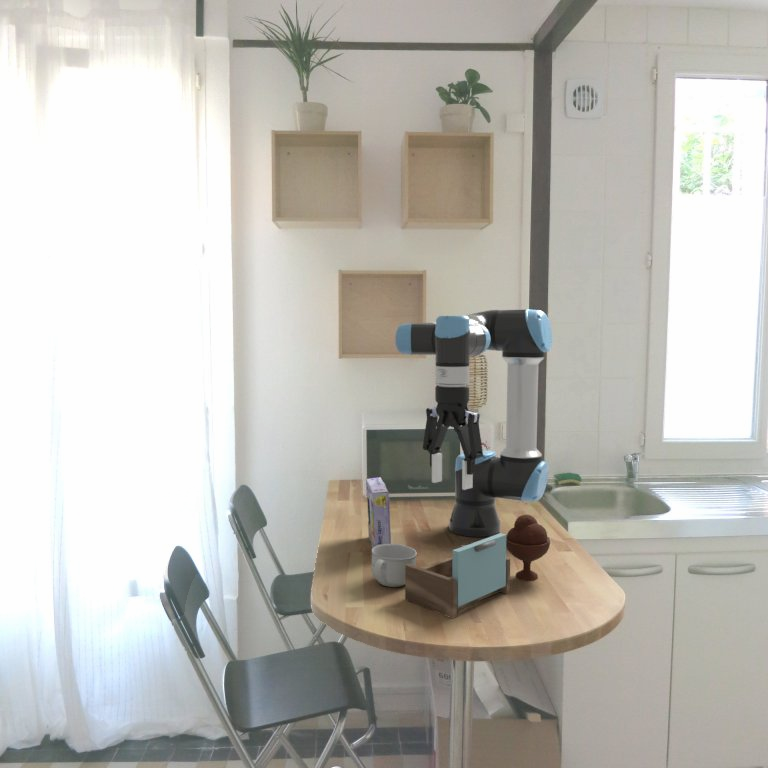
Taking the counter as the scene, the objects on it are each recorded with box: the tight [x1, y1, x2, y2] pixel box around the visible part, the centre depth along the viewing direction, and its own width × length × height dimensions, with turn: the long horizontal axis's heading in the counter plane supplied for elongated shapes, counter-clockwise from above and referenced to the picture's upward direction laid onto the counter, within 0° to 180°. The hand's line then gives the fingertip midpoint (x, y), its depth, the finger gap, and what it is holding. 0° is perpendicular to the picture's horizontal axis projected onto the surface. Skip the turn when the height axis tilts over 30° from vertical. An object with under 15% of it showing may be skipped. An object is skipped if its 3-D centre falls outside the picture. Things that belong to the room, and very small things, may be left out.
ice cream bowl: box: [506, 514, 551, 582], centre depth 174 cm, size 11×11×15 cm
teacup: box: [371, 543, 418, 588], centre depth 170 cm, size 14×11×8 cm
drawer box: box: [404, 544, 511, 619], centre depth 162 cm, size 20×14×8 cm
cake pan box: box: [365, 477, 392, 549], centre depth 197 cm, size 19×5×18 cm, turn 7°
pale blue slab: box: [452, 532, 507, 607], centre depth 157 cm, size 17×3×12 cm, turn 134°
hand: (451, 484), depth 162 cm, fingers open, 8 cm apart
